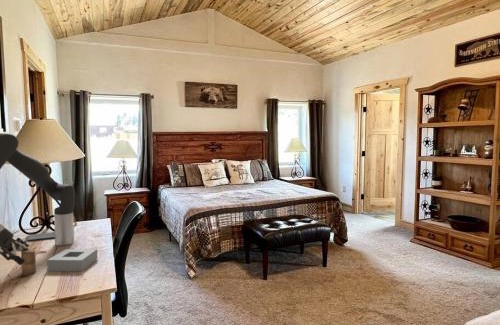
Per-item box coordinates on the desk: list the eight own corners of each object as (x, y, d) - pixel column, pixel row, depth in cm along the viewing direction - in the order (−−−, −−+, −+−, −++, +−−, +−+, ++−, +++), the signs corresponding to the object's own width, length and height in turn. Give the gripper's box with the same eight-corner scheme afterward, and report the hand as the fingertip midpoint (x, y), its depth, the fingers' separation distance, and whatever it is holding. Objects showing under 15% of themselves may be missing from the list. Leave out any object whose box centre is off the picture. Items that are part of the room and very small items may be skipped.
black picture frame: (23, 240, 183) (27, 233, 196) (23, 243, 183) (27, 236, 197) (63, 236, 192) (65, 230, 206) (64, 239, 192) (65, 233, 206)
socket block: (66, 259, 158) (66, 248, 158) (97, 259, 159) (97, 249, 158) (47, 271, 143) (47, 259, 143) (81, 271, 144) (81, 260, 143)
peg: (27, 270, 143) (26, 249, 143) (38, 270, 143) (37, 249, 143) (19, 275, 138) (18, 253, 138) (31, 275, 138) (30, 253, 138)
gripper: (-6, 232, 131) (26, 259, 134) (13, 224, 145) (41, 248, 148) (-21, 246, 130) (12, 272, 133) (-1, 236, 144) (29, 260, 147)
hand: (27, 259), depth 140 cm, fingers open, 8 cm apart
